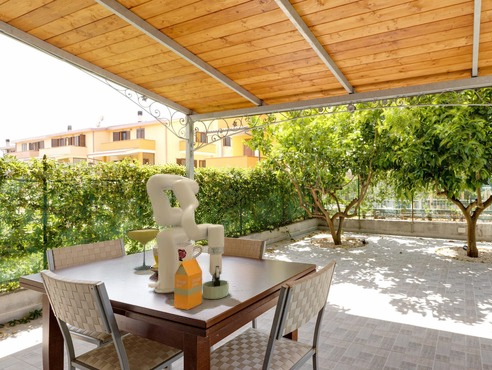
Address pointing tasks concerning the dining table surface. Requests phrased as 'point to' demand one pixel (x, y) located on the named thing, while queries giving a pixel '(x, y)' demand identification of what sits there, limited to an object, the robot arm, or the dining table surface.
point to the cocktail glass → (143, 240)
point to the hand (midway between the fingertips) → (216, 287)
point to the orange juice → (188, 285)
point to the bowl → (215, 290)
